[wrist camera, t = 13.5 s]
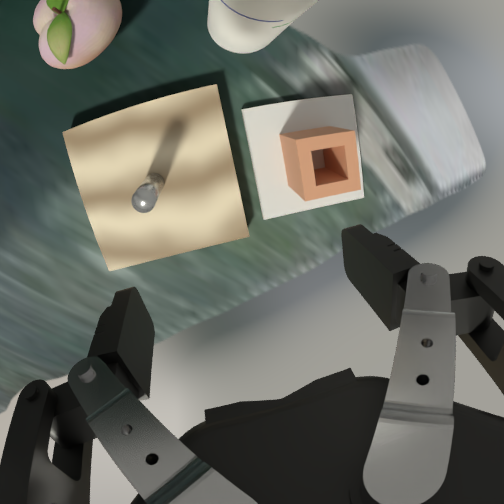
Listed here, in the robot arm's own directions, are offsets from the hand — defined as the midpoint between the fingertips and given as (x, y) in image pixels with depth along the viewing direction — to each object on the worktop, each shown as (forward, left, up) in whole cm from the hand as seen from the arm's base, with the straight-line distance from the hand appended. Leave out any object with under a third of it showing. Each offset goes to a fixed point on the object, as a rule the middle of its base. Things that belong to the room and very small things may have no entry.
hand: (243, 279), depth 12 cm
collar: (+1, +10, -22) cm, 24 cm away
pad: (+1, +10, -23) cm, 25 cm away
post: (0, -6, -21) cm, 22 cm away
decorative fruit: (-18, -9, -23) cm, 31 cm away
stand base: (0, -6, -23) cm, 24 cm away
